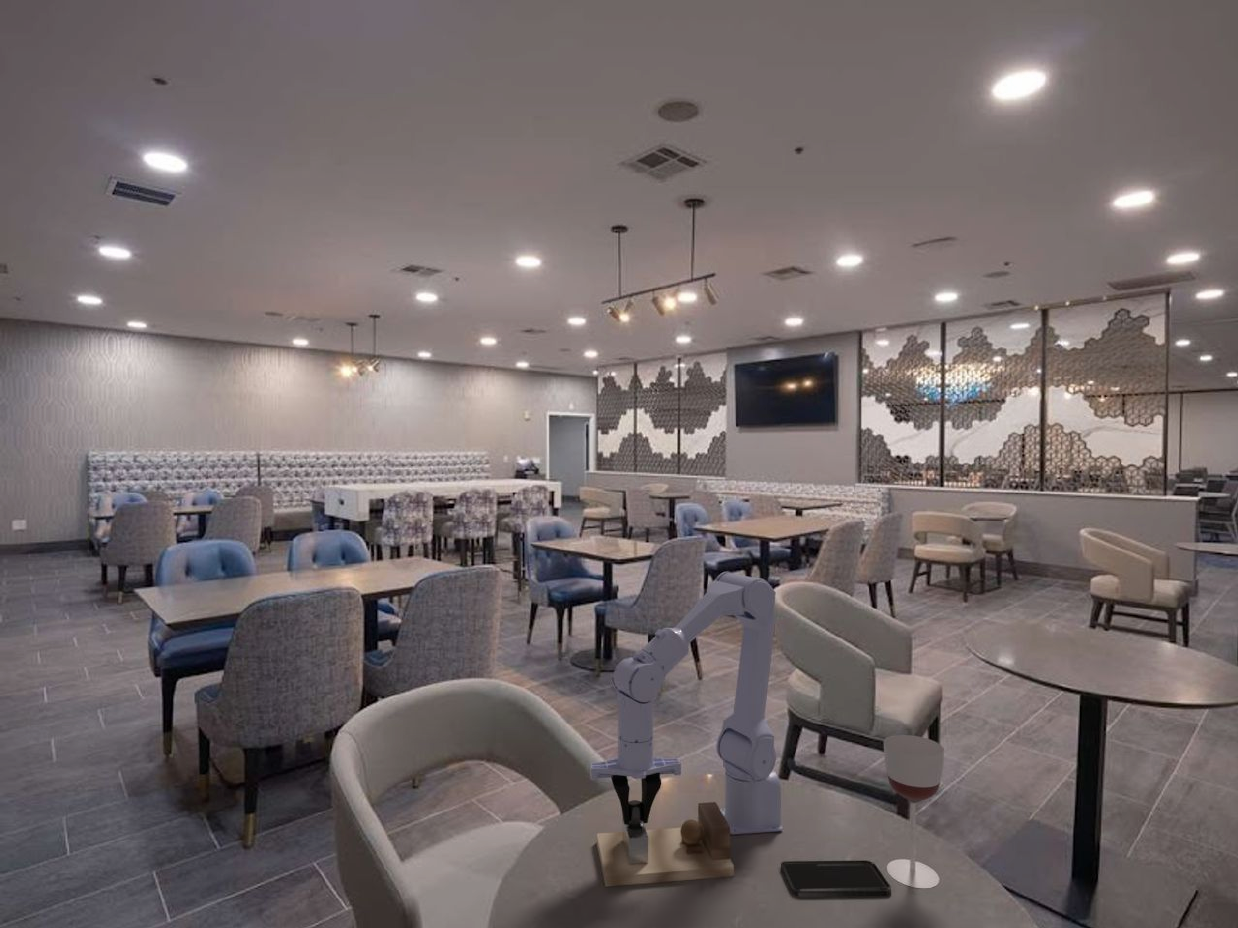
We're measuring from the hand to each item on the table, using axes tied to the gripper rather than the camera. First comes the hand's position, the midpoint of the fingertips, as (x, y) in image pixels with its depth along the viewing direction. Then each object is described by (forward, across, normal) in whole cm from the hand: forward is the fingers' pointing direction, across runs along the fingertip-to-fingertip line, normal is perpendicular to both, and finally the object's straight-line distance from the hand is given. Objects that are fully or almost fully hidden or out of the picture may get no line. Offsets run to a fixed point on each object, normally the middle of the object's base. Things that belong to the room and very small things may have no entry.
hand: (635, 820), depth 107 cm
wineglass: (+7, +42, -9) cm, 44 cm away
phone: (+7, +30, -9) cm, 32 cm away
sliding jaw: (+5, 0, 0) cm, 5 cm away
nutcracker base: (+6, +4, 0) cm, 8 cm away
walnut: (+2, +9, 0) cm, 10 cm away
